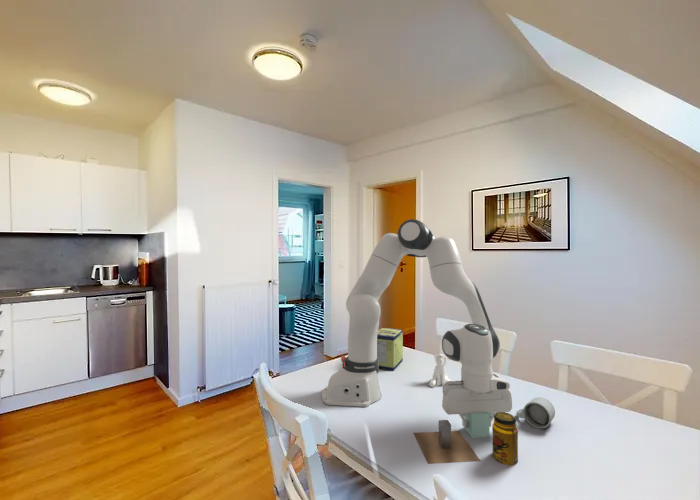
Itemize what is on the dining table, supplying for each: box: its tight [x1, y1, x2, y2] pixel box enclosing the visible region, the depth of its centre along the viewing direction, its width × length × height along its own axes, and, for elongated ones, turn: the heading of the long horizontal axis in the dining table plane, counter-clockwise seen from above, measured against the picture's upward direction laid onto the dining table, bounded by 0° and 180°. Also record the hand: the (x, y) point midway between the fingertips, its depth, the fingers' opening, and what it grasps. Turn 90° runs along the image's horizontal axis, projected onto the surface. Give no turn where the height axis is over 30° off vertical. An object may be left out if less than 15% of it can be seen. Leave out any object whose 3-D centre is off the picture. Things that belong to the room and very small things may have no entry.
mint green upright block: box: [464, 412, 490, 438], centre depth 98 cm, size 5×5×8 cm
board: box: [413, 430, 482, 465], centre depth 91 cm, size 14×14×1 cm
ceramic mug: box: [516, 396, 556, 429], centre depth 106 cm, size 11×8×8 cm
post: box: [438, 419, 452, 449], centre depth 91 cm, size 3×3×6 cm
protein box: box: [377, 327, 404, 372], centre depth 158 cm, size 10×16×16 cm
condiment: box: [491, 412, 519, 466], centre depth 87 cm, size 7×8×12 cm
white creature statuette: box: [428, 353, 452, 388], centre depth 135 cm, size 10×9×12 cm
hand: (476, 426), depth 98 cm, fingers closed on mint green upright block, 5 cm apart
